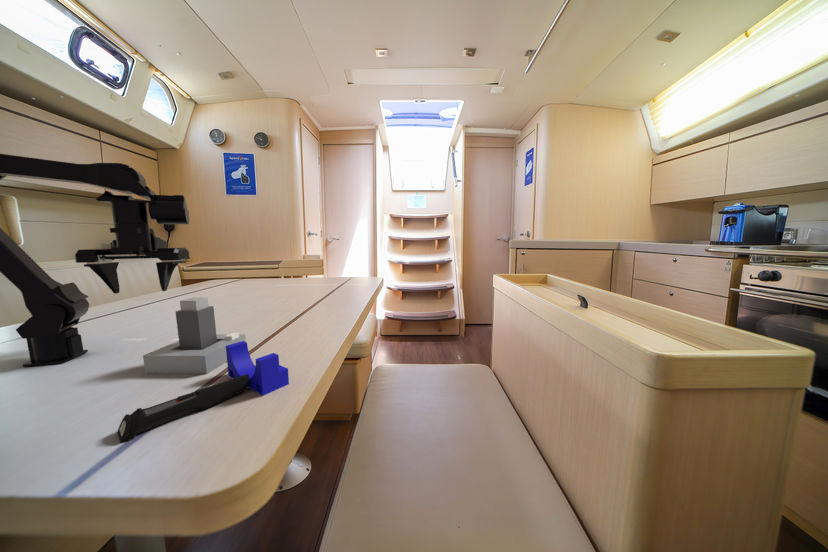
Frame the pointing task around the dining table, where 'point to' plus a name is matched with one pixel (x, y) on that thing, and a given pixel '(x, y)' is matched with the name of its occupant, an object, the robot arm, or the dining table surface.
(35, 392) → the dining table surface
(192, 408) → the electric trimmer
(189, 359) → the socket
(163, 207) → the robot arm
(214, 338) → the plug
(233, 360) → the cable clip
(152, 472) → the dining table surface
